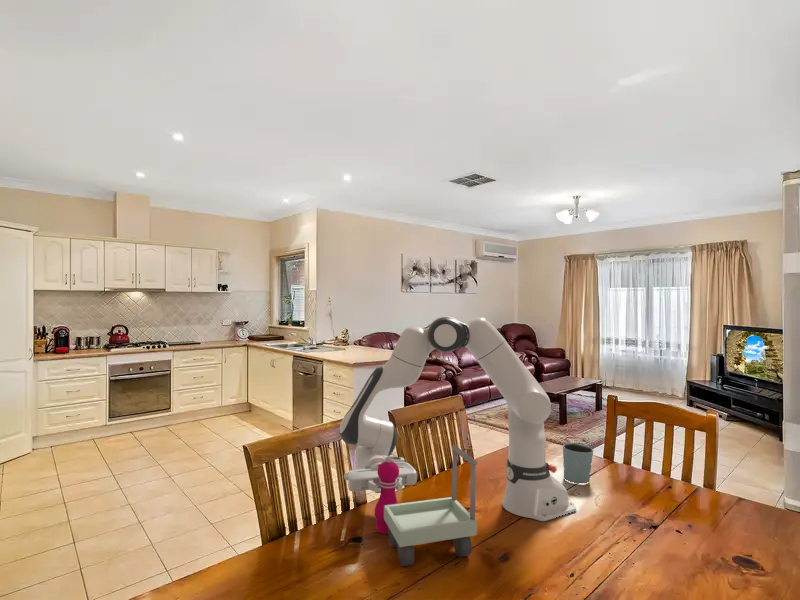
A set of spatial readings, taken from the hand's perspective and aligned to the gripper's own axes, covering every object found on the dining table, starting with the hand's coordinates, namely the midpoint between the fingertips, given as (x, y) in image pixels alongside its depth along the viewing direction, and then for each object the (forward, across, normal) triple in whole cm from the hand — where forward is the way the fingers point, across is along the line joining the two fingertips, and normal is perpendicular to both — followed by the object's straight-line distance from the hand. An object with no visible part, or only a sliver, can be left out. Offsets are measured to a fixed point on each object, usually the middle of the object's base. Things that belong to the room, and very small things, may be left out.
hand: (389, 489), depth 122 cm
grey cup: (-16, +75, +12) cm, 78 cm away
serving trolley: (+11, +7, +12) cm, 18 cm away
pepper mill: (-1, 0, +12) cm, 12 cm away
